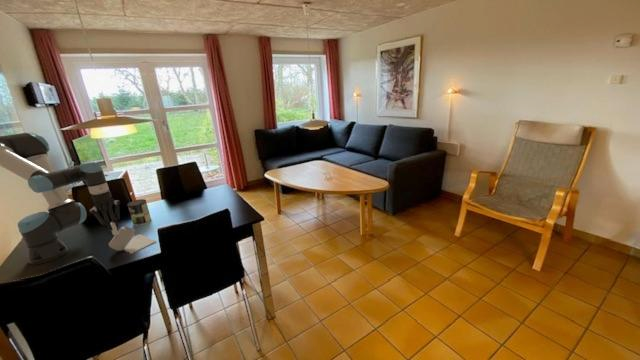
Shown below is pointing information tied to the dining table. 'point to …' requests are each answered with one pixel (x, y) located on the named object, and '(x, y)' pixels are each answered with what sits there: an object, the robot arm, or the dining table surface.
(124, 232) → the can
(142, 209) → the coffee can
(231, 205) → the dining table surface
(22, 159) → the robot arm
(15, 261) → the dining table surface
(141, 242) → the mat
